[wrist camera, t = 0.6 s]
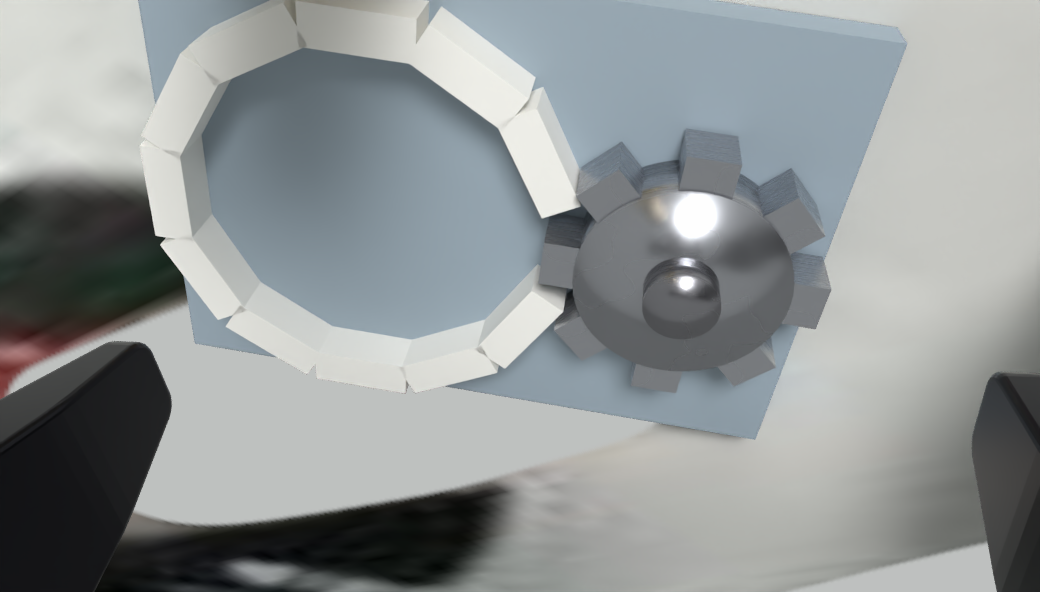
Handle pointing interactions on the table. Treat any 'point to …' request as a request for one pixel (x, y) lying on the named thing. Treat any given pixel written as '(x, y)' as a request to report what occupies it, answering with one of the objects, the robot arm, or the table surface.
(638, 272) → the fixed gear
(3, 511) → the robot arm
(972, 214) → the table surface
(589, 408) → the gear board
